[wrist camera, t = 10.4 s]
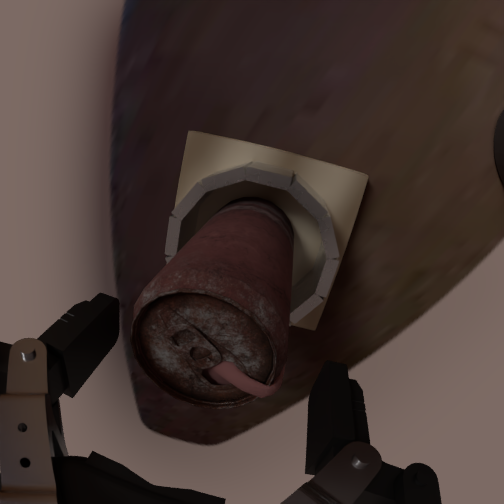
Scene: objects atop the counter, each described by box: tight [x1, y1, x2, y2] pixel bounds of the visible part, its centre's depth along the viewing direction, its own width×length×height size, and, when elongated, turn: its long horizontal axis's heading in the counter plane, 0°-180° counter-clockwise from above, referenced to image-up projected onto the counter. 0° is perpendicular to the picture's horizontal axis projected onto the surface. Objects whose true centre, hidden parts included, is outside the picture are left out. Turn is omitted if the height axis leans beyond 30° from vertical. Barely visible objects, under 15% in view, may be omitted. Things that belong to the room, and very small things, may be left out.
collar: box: [165, 161, 340, 326], centre depth 22 cm, size 11×11×4 cm
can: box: [130, 197, 294, 409], centre depth 17 cm, size 6×6×14 cm
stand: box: [175, 131, 369, 331], centre depth 24 cm, size 13×13×1 cm
